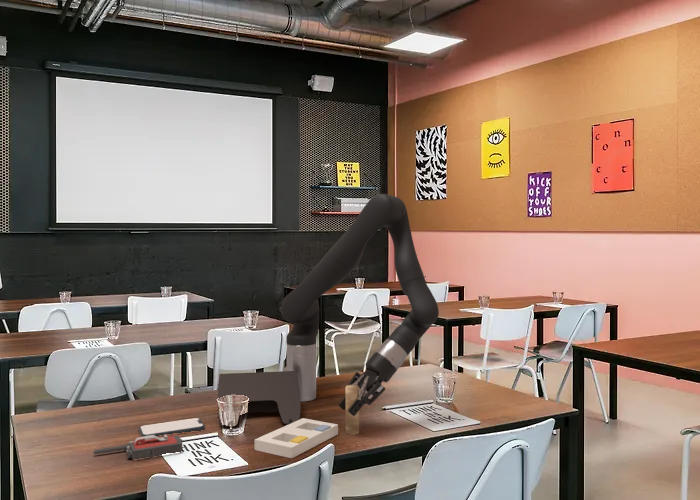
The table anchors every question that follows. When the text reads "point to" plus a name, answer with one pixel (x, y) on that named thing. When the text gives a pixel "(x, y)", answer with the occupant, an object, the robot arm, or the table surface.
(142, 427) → the phone case
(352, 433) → the dowel
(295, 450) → the socket plate
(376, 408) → the table surface
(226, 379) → the portable electronic device stand
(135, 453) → the walkie-talkie
